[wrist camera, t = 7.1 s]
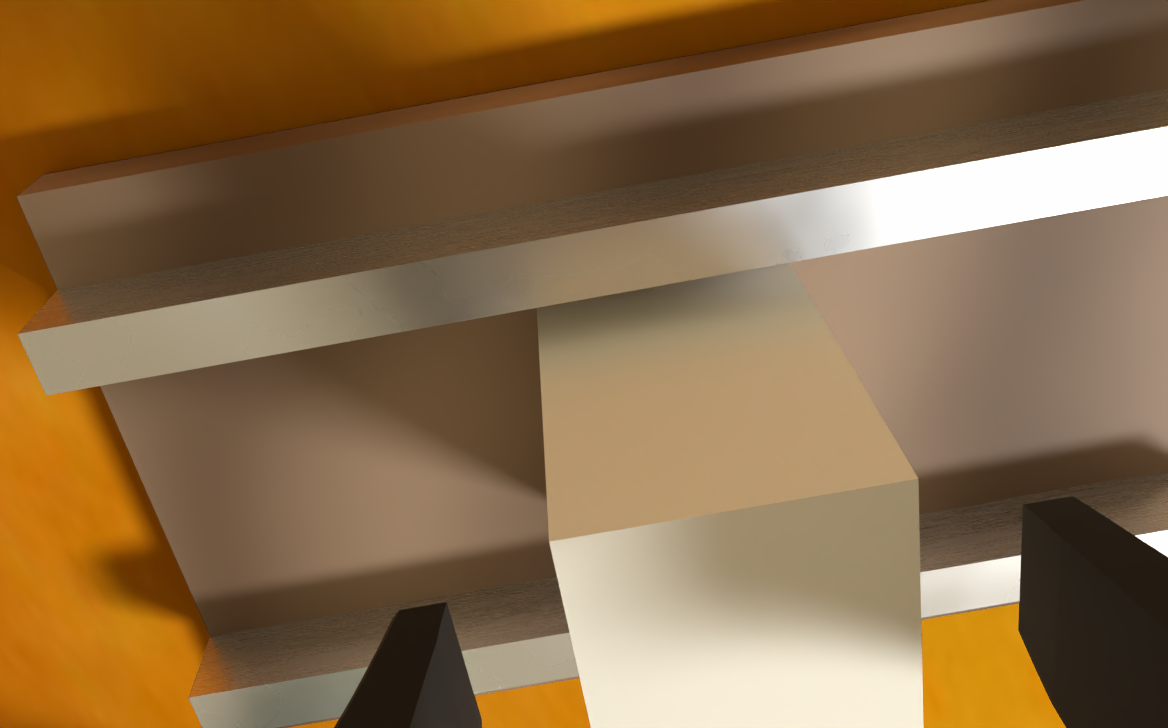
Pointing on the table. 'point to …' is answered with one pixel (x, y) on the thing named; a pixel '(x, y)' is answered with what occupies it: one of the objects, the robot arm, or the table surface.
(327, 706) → the track
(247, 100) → the table surface
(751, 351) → the cream block
